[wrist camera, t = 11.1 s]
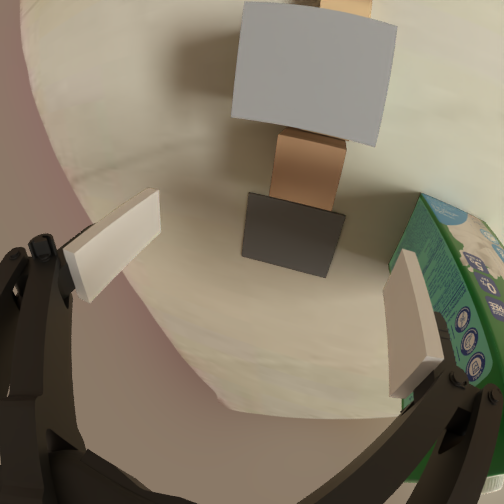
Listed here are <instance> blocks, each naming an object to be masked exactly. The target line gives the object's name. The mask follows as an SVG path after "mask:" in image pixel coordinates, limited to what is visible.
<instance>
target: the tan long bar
mask: <svg viewBox="0 0 504 504" xmlns="http://www.w3.org/2000/svg"><path fill="white" fill-rule="evenodd" d="M320 8H325V9H330V10H336V11H341V12H346V13H350V14H355V15H359V16H363V17H367V18H370V17H371V8H372V0H321V2H320ZM301 130H304V129H301ZM304 131H309V130H304ZM309 132H313V133H318V132H314V131H309ZM318 134H322V135H326V136H331V135H327V134H323V133H318ZM331 137H335V136H331ZM335 138H339V137H335ZM339 139H343V138H339ZM343 140H346V141H349V140H347V139H343Z"/></svg>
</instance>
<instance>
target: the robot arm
mask: <svg viewBox="0 0 504 504" xmlns="http://www.w3.org/2000/svg"><path fill="white" fill-rule="evenodd" d="M160 233H161V222H160V202H159V190H158V189H153V188H146V189H145V190H143V191H142V192H140V193H139V194H137V195H136V196H134V197H133V198H131V199H130V200H128V201H127V202H125V203H124V204H122V205H121V206H119V207H118V208H117V209H115V210H114V211H112V212H111V213H109V214H108V215H107V216H105V217H104V218H102V219H101V220H100V221H98V222H97V223H94V224H92V225H90V226H88V227H87V228H85V229H84V230H83V231H81V233H78V234H77V235H76V236H75V237H73V238H72V239H71V240H70V241H68V242H67V243H66V244H64V245H63V246H62V247H60V248H59V249H58V250H57V249H56V246H55V242H54V239H53V236H52V235H51V234H41V235H38V236H36V237H34V238H33V239H32V240H30V242H29V243H28V246H29V249H30V252H31V254H32V257H28V256H27V253H26V250H25V248H23V247H16V248H13V249H12V250H11V251H9V252H8V253H7V254H6V255H5V257H4V258H3V260H2V261H1V263H0V456H1V465H0V504H197V503H194V502H191V501H189V500H186V499H183V498H181V497H176V496H170V495H165V494H160V493H155V492H152V491H151V490H150V489H148V488H147V487H145V486H144V485H143V484H142V483H141V482H139V481H138V480H137V479H136V478H134V477H132V476H131V475H129V474H127V473H126V472H124V471H122V470H121V469H119V468H118V467H116V466H114V465H113V464H111V463H109V462H108V461H106V460H104V459H103V458H101V457H100V456H98V455H96V454H95V453H93V452H92V451H90V450H89V449H87V451H86V448H85V444H84V441H83V439H82V436H81V434H80V432H79V430H78V428H77V423H76V415H75V406H74V396H73V382H72V362H71V361H72V360H71V326H72V302H73V297H72V294H71V292H72V291H73V290H74V289H76V291H77V294H78V297H79V298H80V299H82V300H84V301H86V302H88V303H91V302H92V301H93V300H94V299H95V298H96V296H97V295H98V294H99V293H100V292H101V291H102V290H103V289H104V288H105V287H106V286H107V285H108V284H109V283H110V282H111V281H112V280H113V279H114V278H115V276H117V275H118V274H119V273H120V272H121V271H122V270H123V269H124V268H125V267H126V266H127V265H128V264H129V263H130V262H131V261H132V260H133V259H134V258H135V257H136V256H137V255H138V254H139V253H140V252H141V251H142V250H143V249H144V248H145V247H146V246H147V245H148V244H149V243H150V242H151V241H152V240H153V239H154V238H155V237H156V236H158V235H159V234H160ZM14 286H15V287H16V289H17V291H18V293H17V295H16V296H15V294H14V292H13V288H14ZM383 296H384V305H385V315H386V326H387V340H388V358H389V397H394V398H402V399H406V398H407V397H408V396H409V395H410V394H411V393H412V392H413V396H414V400H413V401H412V402H411V403H410V404H408V405H407V406H406V407H405V408H404V409H403V410H402V411H400V412H401V414H400V415H399V416H398V417H397V418H396V419H395V420H394V422H393V423H392V424H391V425H390V426H389V427H388V428H387V429H386V430H385V431H384V432H383V433H382V434H381V435H380V436H379V437H378V438H377V439H376V440H375V441H374V442H373V443H372V444H371V445H370V446H369V447H368V448H366V449H365V450H364V451H363V452H362V453H361V454H360V455H359V456H358V457H357V458H355V459H354V460H353V461H352V462H351V463H350V464H349V465H347V466H346V467H345V468H344V469H343V470H342V471H340V472H339V473H338V474H337V475H335V476H334V477H333V478H331V479H330V480H329V481H328V482H326V483H325V484H324V485H322V486H321V487H320V488H319V489H317V490H315V491H314V492H313V493H311V494H310V495H308V496H307V497H306V498H304V499H303V500H301V501H300V502H298V503H297V504H383V503H384V502H385V501H386V500H387V499H388V498H389V497H390V496H391V495H392V494H393V493H394V492H395V491H396V490H397V489H398V488H399V487H400V486H401V484H402V483H403V482H404V481H405V480H406V479H407V478H408V476H409V475H410V474H411V473H412V472H413V470H414V469H415V468H416V467H417V466H418V464H419V463H420V462H421V461H422V459H423V458H424V457H425V455H426V454H427V453H428V451H429V450H430V449H431V447H432V446H433V445H434V443H435V442H436V440H437V442H436V444H435V447H434V449H433V451H432V454H431V456H430V458H429V460H428V462H427V465H426V467H425V469H424V471H423V473H422V475H421V477H420V479H419V481H418V483H417V485H416V487H415V488H414V490H413V492H412V494H411V496H410V498H409V499H408V501H407V503H406V504H477V502H478V500H479V497H480V495H481V492H482V489H483V486H484V484H485V481H486V478H487V475H488V471H489V468H490V465H491V461H492V457H493V454H494V450H495V446H496V441H497V437H498V432H499V427H500V422H501V416H502V410H503V395H502V392H501V390H500V389H499V388H498V387H497V386H496V385H495V384H492V383H488V384H487V385H485V386H484V387H483V388H482V389H479V388H477V387H475V386H473V385H471V384H469V379H468V377H467V374H466V373H465V372H464V370H463V369H461V368H460V367H459V366H457V365H456V361H455V356H454V351H453V347H452V343H451V340H450V335H449V333H448V327H447V324H446V321H445V319H444V318H443V316H442V315H441V313H440V312H435V311H433V308H432V304H431V301H430V297H429V294H428V290H427V287H426V284H425V281H424V277H423V274H422V271H421V268H420V265H419V262H418V259H417V257H416V254H415V252H412V251H409V250H405V249H402V250H401V252H400V255H399V257H398V259H397V261H396V264H395V266H394V268H393V270H392V272H391V274H390V276H389V278H388V281H387V283H386V285H385V287H384V289H383ZM9 385H10V392H9V396H8V397H7V393H8V389H9Z"/></svg>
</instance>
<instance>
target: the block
mask: <svg viewBox="0 0 504 504" xmlns="http://www.w3.org/2000/svg"><path fill="white" fill-rule="evenodd" d="M346 151H347V149H346V142H345V140H343V139H339V138H335V137H331V136H326V135H322V134H318V133H313V132H309V131H304V130H301V129H300V128H295V127H289V126H288V127H287V128H286V129H284V130H283V131H282V132H281V133H279V134H278V139H277V146H276V152H275V159H274V166H273V172H272V179H271V186H270V192H269V196H271V197H275V198H280V199H284V200H288V201H292V202H296V203H301V204H305V205H309V206H313V207H317V208H321V209H324V210H328V211H332V207H333V203H334V200H335V196H336V192H337V188H338V184H339V180H340V176H341V172H342V168H343V163H344V159H345V155H346Z"/></svg>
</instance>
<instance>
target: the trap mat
mask: <svg viewBox="0 0 504 504" xmlns="http://www.w3.org/2000/svg"><path fill="white" fill-rule="evenodd" d="M344 220H345V216H344V215H341V214H337V213H333V212H329V211H326V210H322V209H318V208H314V207H310V206H306V205H302V204H298V203H294V202H289V201H285V200H281V199H277V198H272V197H268V196H263V195H259V194H254V193H250V192H249V196H248V205H247V214H246V223H245V232H244V240H243V249H242V256H243V257H247V258H251V259H254V260H258V261H262V262H266V263H270V264H273V265H277V266H281V267H285V268H289V269H292V270H296V271H300V272H304V273H308V274H312V275H315V276H319V277H323V278H326V276H327V273H328V270H329V267H330V264H331V261H332V258H333V255H334V252H335V249H336V246H337V242H338V239H339V236H340V233H341V230H342V226H343V223H344Z"/></svg>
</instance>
